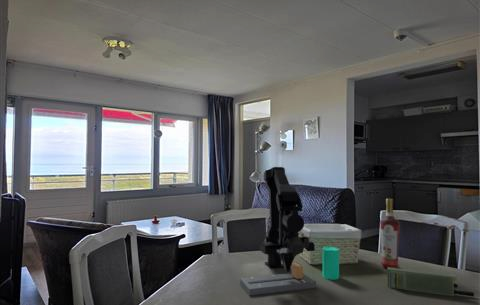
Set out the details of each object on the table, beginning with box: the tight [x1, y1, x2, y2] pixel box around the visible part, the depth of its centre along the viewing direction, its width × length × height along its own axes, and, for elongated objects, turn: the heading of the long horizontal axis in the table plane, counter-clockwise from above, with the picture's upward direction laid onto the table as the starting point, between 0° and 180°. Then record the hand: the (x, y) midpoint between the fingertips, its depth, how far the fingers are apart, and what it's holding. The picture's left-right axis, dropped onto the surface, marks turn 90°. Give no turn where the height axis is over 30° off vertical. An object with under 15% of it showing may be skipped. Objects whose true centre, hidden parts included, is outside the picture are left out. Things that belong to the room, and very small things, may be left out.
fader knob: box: [291, 262, 304, 279], centre depth 112 cm, size 4×2×4 cm, turn 17°
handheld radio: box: [386, 267, 475, 297], centre depth 106 cm, size 7×3×25 cm
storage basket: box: [298, 223, 362, 265], centre depth 141 cm, size 24×16×15 cm
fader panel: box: [239, 272, 317, 296], centre depth 109 cm, size 10×24×2 cm, turn 107°
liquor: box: [379, 198, 401, 269], centre depth 131 cm, size 7×7×28 cm
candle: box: [322, 247, 340, 280], centre depth 119 cm, size 6×6×12 cm
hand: (287, 271), depth 111 cm, fingers closed
